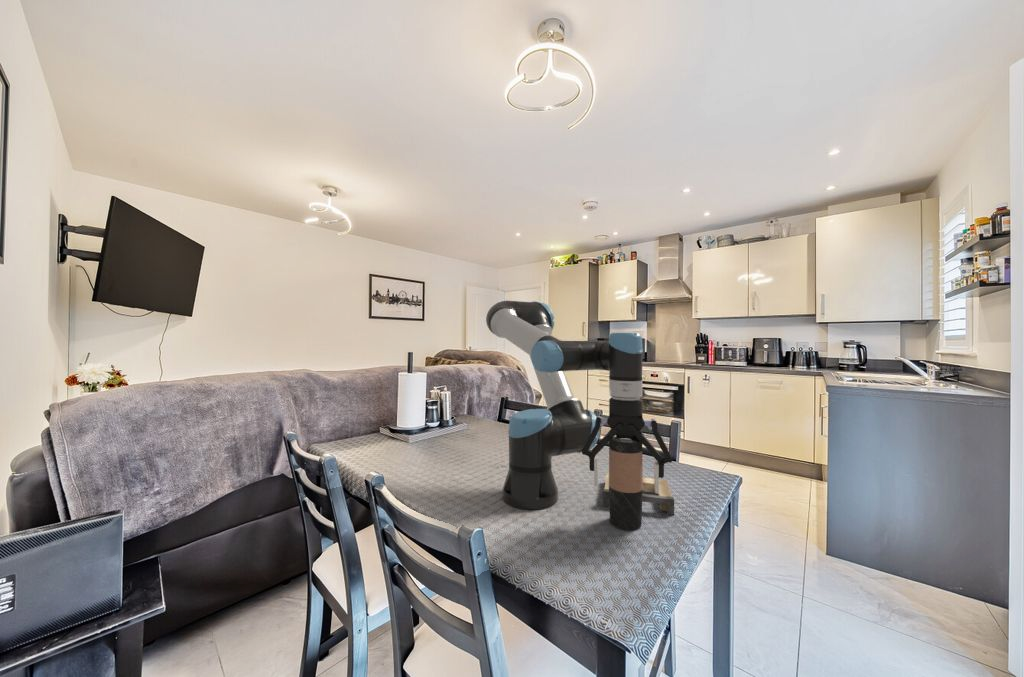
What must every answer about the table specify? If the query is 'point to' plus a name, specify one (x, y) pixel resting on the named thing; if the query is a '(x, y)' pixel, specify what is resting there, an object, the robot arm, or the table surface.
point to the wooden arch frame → (648, 486)
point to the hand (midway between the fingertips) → (625, 487)
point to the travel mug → (625, 482)
